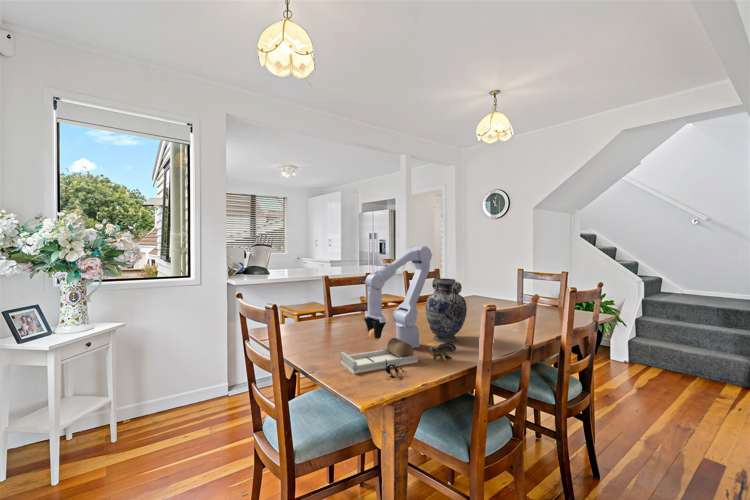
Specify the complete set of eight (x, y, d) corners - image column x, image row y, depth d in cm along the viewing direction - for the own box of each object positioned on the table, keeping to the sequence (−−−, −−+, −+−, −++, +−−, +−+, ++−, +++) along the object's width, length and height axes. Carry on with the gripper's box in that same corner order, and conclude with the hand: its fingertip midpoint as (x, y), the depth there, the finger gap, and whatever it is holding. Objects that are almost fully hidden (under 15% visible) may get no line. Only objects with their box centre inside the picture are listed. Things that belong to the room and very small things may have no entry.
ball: (377, 338, 148) (377, 326, 148) (382, 341, 144) (382, 329, 144) (366, 339, 146) (366, 327, 146) (371, 343, 141) (371, 330, 141)
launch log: (400, 351, 142) (400, 337, 142) (413, 359, 133) (413, 343, 133) (387, 354, 139) (387, 338, 139) (399, 361, 131) (399, 345, 131)
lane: (400, 353, 144) (401, 343, 143) (417, 362, 133) (417, 351, 133) (341, 363, 132) (341, 352, 132) (353, 373, 121) (353, 362, 121)
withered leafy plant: (444, 362, 130) (460, 353, 135) (434, 344, 132) (451, 336, 137) (433, 367, 136) (449, 359, 141) (424, 350, 138) (440, 342, 143)
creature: (404, 374, 124) (382, 370, 123) (407, 359, 124) (385, 355, 123) (407, 383, 116) (384, 378, 116) (411, 367, 116) (387, 362, 115)
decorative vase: (415, 335, 170) (417, 277, 169) (447, 332, 178) (449, 276, 177) (442, 348, 150) (443, 282, 150) (476, 343, 158) (478, 281, 157)
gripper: (358, 301, 149) (358, 333, 149) (373, 307, 136) (373, 342, 136) (373, 300, 152) (373, 331, 153) (389, 305, 139) (389, 340, 140)
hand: (374, 336), depth 145 cm, fingers closed on ball, 5 cm apart
